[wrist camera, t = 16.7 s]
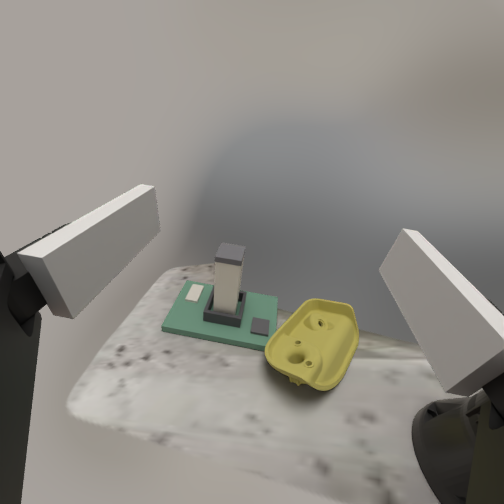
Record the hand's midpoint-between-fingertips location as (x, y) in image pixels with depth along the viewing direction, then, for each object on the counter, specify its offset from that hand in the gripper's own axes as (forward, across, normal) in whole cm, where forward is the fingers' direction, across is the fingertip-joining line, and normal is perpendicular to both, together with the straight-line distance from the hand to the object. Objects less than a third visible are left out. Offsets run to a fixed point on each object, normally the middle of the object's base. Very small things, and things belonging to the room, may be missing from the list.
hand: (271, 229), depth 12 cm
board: (+18, -5, -30) cm, 35 cm away
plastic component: (+14, +11, -30) cm, 35 cm away
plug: (+18, -5, -28) cm, 34 cm away
